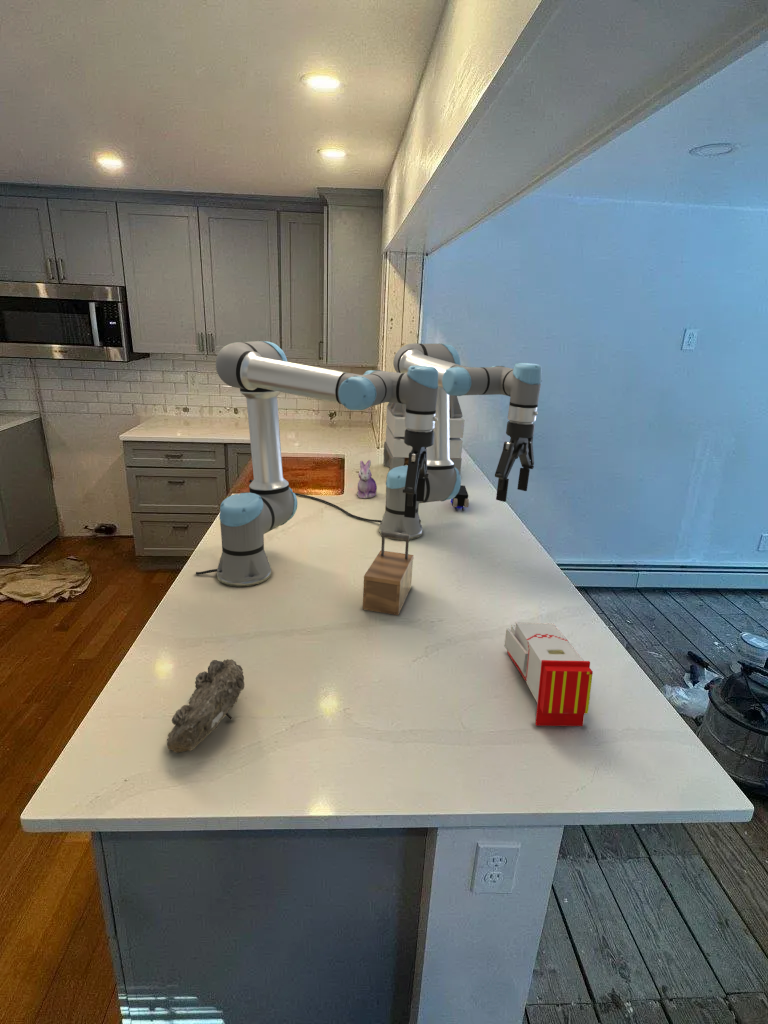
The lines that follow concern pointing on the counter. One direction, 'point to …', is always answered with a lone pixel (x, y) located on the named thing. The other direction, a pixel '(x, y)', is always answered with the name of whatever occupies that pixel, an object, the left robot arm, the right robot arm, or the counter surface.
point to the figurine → (366, 481)
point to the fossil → (206, 705)
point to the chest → (386, 595)
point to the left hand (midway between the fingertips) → (414, 508)
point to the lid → (390, 562)
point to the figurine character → (460, 499)
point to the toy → (551, 672)
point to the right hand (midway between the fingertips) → (511, 495)
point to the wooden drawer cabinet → (399, 451)
